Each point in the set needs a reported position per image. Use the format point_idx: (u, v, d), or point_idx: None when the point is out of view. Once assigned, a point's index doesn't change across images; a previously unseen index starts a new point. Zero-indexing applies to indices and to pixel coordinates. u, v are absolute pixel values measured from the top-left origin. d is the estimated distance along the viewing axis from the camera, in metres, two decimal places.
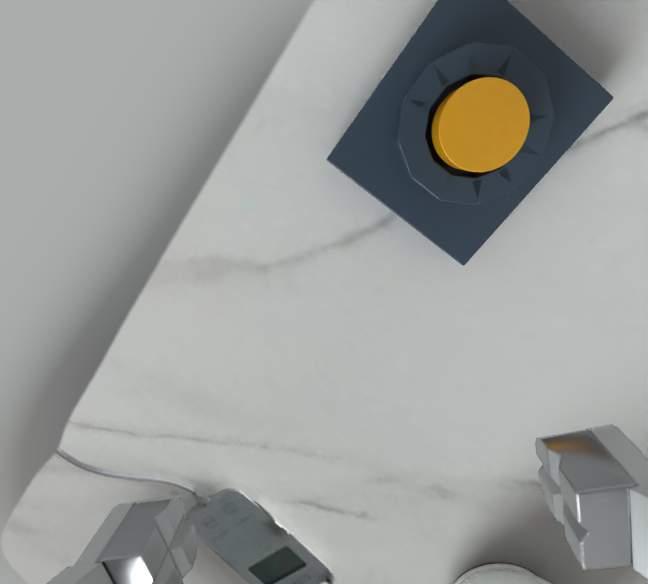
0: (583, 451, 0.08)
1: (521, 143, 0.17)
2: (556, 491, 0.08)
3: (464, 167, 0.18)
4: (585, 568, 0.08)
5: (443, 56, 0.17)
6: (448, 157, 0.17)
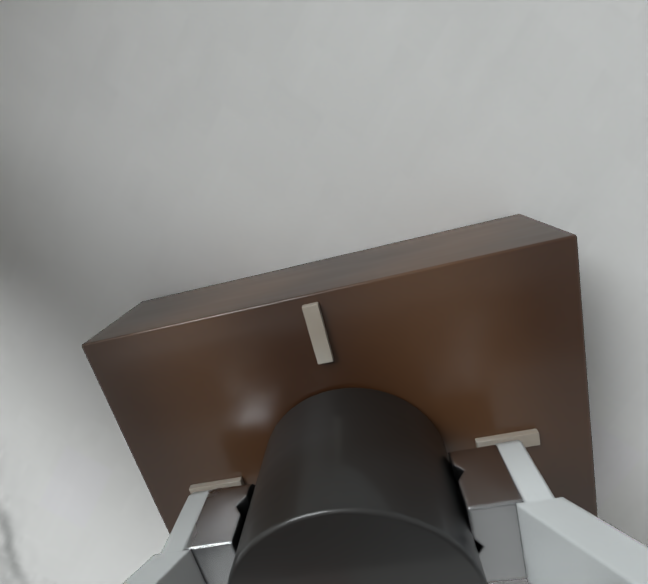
0: (487, 466, 0.08)
1: None
2: None
3: None
4: None
5: None
6: None
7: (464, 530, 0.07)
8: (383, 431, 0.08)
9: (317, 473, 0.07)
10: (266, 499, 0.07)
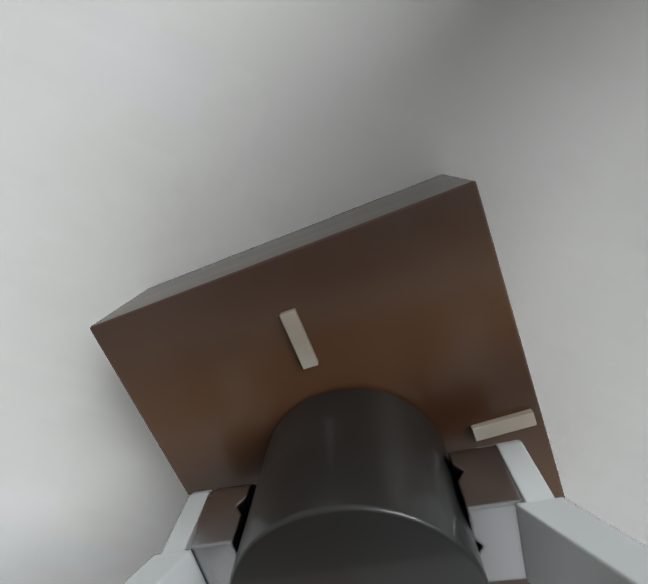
0: (487, 466, 0.08)
1: None
2: (464, 504, 0.09)
3: None
4: None
5: None
6: None
7: (464, 528, 0.07)
8: (384, 430, 0.08)
9: (318, 471, 0.07)
10: (267, 498, 0.07)
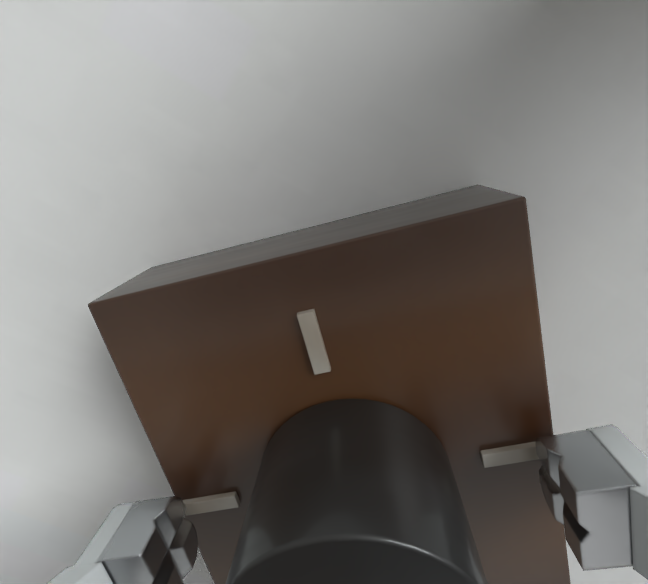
0: (583, 451, 0.08)
1: None
2: (556, 490, 0.08)
3: None
4: (585, 568, 0.08)
5: None
6: None
7: (466, 550, 0.06)
8: (377, 445, 0.08)
9: (305, 495, 0.07)
10: (254, 527, 0.07)
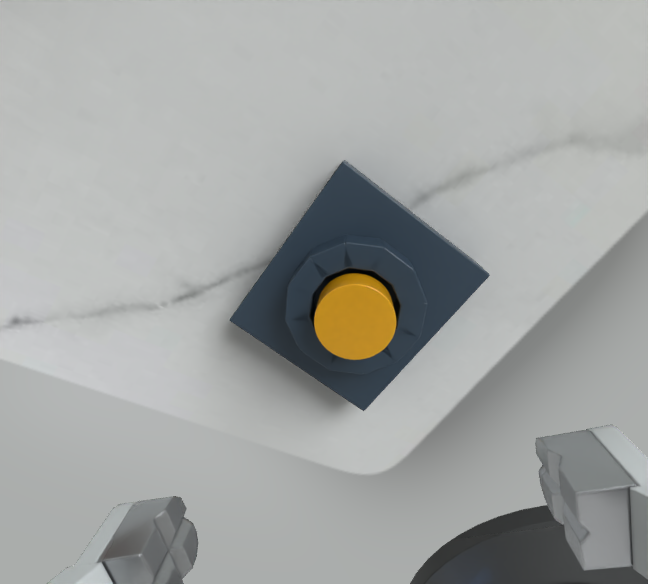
0: (584, 451, 0.08)
1: (319, 308, 0.18)
2: (557, 491, 0.08)
3: (370, 288, 0.18)
4: (584, 567, 0.08)
5: (386, 365, 0.20)
6: (385, 297, 0.18)
7: None
8: None
9: None
10: None
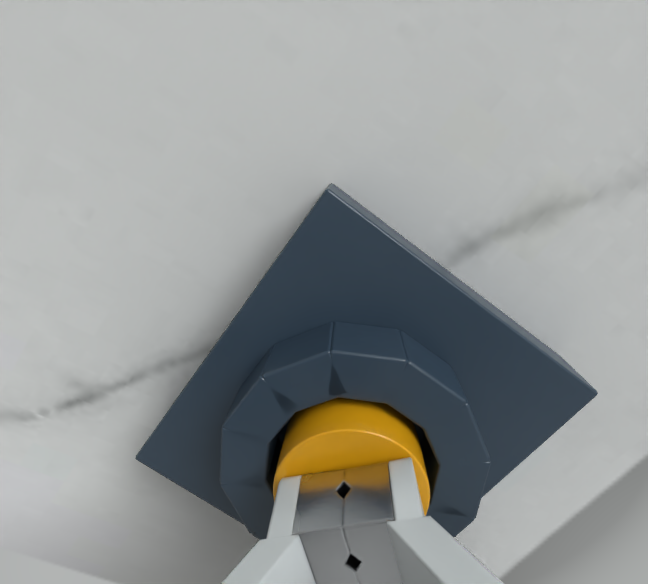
0: (375, 484, 0.08)
1: (281, 470, 0.09)
2: None
3: (380, 438, 0.09)
4: None
5: None
6: (410, 453, 0.09)
7: None
8: None
9: None
10: None
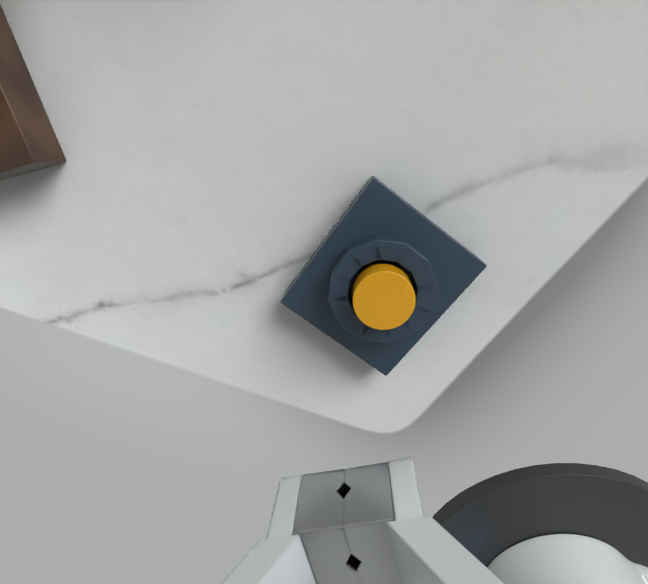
0: (375, 483, 0.08)
1: (357, 290, 0.24)
2: None
3: (396, 274, 0.24)
4: None
5: (406, 336, 0.26)
6: (408, 281, 0.24)
7: None
8: None
9: None
10: None
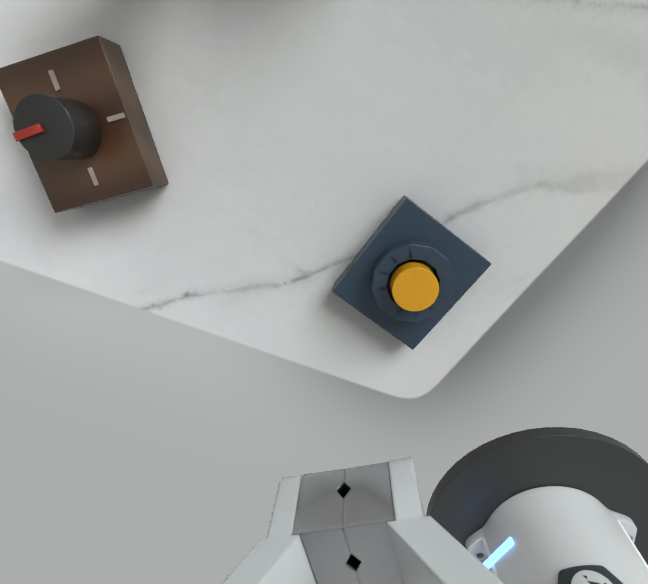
0: (375, 483, 0.08)
1: (395, 281, 0.32)
2: None
3: (425, 269, 0.32)
4: None
5: (430, 317, 0.35)
6: (433, 275, 0.32)
7: (67, 106, 0.29)
8: (61, 97, 0.31)
9: None
10: None
